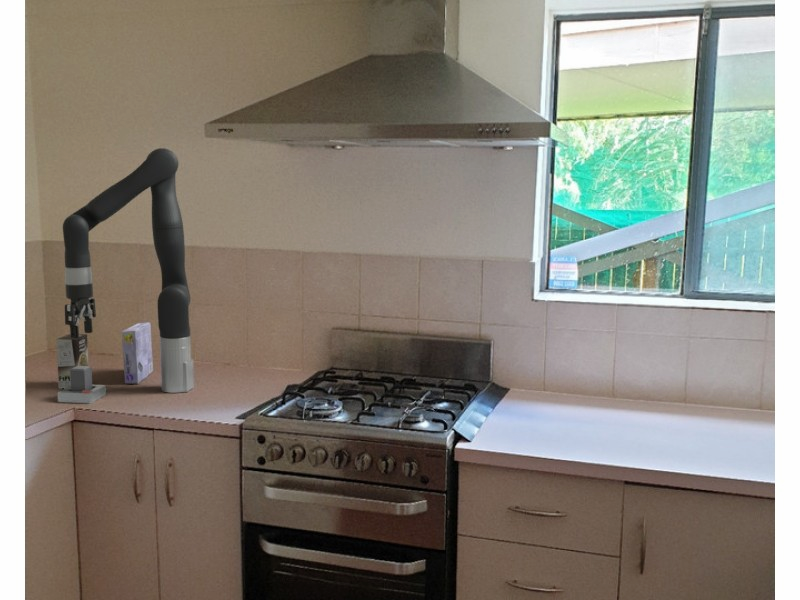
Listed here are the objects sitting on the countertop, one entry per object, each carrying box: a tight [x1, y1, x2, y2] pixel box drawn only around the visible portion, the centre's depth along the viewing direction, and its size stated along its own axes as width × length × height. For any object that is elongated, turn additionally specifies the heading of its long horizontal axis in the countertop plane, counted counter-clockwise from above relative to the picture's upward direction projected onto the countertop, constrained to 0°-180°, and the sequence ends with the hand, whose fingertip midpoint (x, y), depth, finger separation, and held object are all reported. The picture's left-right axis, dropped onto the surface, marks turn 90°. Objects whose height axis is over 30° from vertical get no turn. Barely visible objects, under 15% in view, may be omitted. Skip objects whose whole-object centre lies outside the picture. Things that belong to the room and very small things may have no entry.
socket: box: [57, 384, 107, 404], centre depth 233 cm, size 10×10×4 cm
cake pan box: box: [121, 322, 154, 385], centre depth 258 cm, size 19×5×18 cm, turn 2°
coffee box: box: [56, 333, 89, 389], centre depth 246 cm, size 9×6×16 cm
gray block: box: [70, 365, 93, 392], centre depth 232 cm, size 4×4×10 cm
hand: (81, 335), depth 232 cm, fingers open, 8 cm apart
